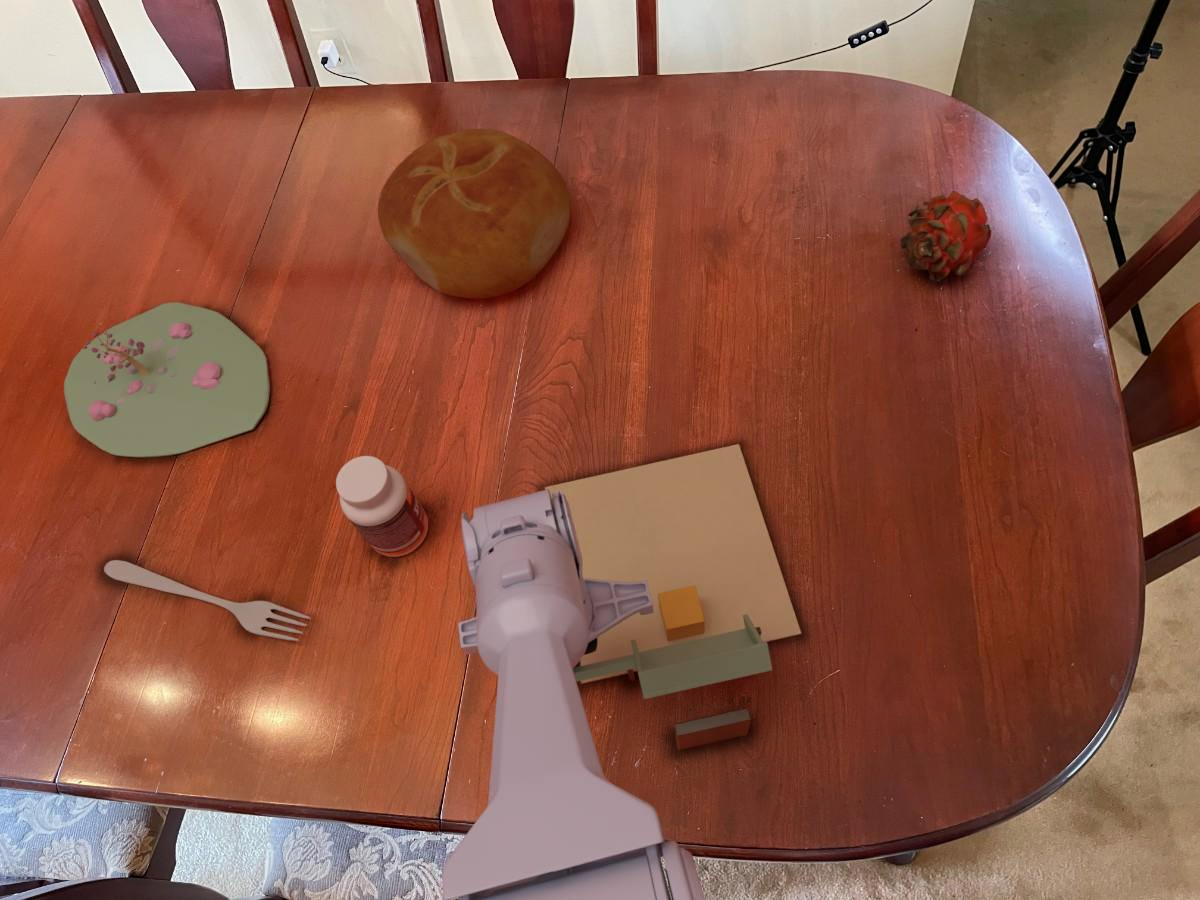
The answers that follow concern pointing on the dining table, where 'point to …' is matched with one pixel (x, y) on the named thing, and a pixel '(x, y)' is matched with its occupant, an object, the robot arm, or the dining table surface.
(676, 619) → the block
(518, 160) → the bread
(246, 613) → the fork
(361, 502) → the pill bottle
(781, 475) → the dining table surface
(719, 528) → the mat
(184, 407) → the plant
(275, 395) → the dining table surface
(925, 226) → the dragon fruit
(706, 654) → the tray
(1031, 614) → the dining table surface
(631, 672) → the stand
